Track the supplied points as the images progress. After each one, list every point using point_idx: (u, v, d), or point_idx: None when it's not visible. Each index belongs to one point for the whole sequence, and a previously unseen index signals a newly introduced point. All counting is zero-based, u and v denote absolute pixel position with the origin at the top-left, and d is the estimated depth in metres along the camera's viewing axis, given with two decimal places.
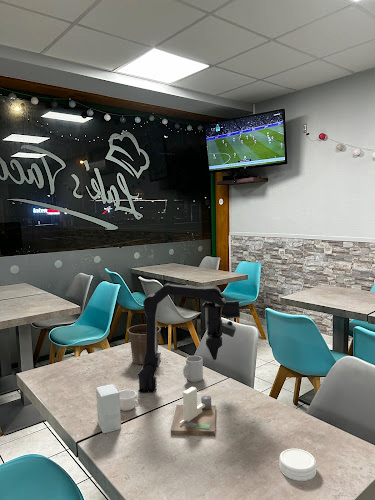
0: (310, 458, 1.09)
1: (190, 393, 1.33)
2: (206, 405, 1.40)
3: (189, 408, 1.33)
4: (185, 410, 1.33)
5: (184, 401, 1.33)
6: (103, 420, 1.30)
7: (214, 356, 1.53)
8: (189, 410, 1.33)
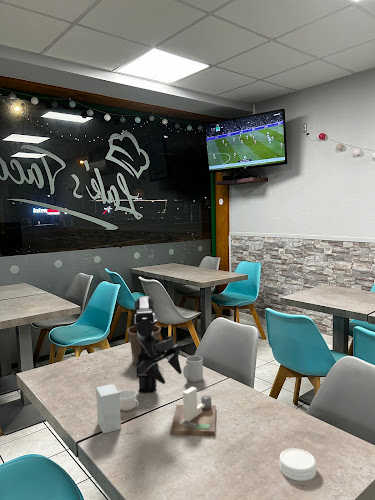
0: (310, 458, 1.09)
1: (190, 393, 1.33)
2: (206, 405, 1.40)
3: (189, 408, 1.33)
4: (185, 410, 1.33)
5: (184, 401, 1.33)
6: (103, 420, 1.30)
7: (161, 380, 1.37)
8: (189, 410, 1.33)
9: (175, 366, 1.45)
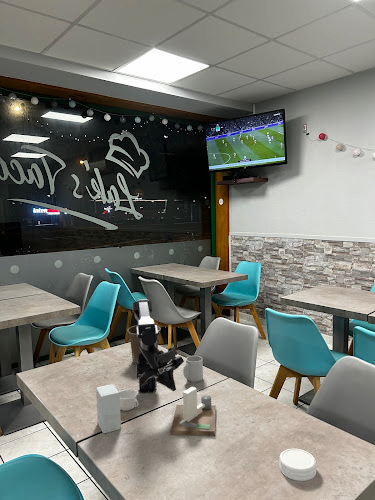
0: (310, 458, 1.09)
1: (190, 393, 1.33)
2: (206, 405, 1.40)
3: (189, 408, 1.33)
4: (185, 410, 1.33)
5: (184, 401, 1.33)
6: (103, 420, 1.30)
7: (171, 387, 1.39)
8: (189, 410, 1.33)
9: None
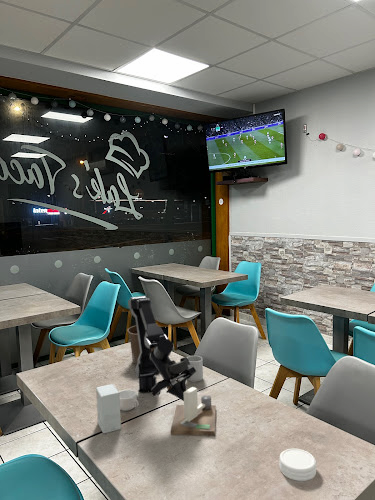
0: (310, 458, 1.09)
1: (191, 393, 1.33)
2: (206, 405, 1.40)
3: (190, 408, 1.33)
4: (186, 410, 1.33)
5: (185, 401, 1.33)
6: (103, 420, 1.30)
7: None
8: (190, 410, 1.33)
9: None
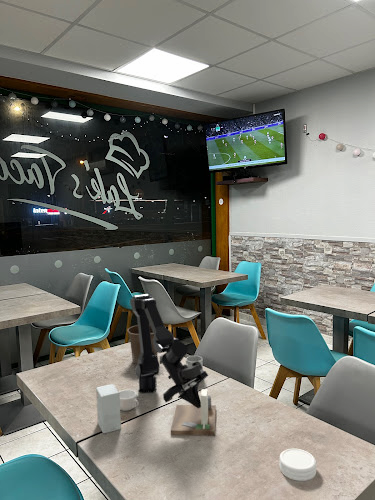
0: (310, 458, 1.09)
1: (206, 395, 1.31)
2: (209, 405, 1.40)
3: (207, 410, 1.31)
4: (203, 414, 1.30)
5: (202, 405, 1.30)
6: (103, 420, 1.30)
7: (196, 404, 1.32)
8: (207, 412, 1.31)
9: None
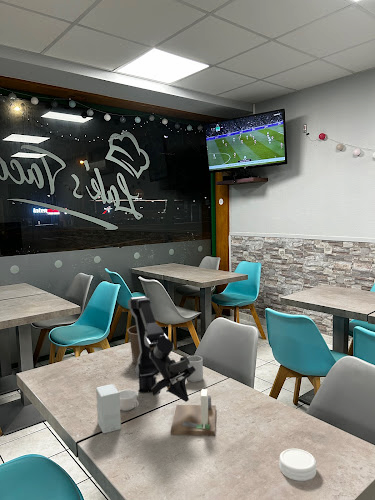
0: (310, 458, 1.09)
1: (206, 395, 1.31)
2: (209, 405, 1.40)
3: (207, 410, 1.31)
4: (203, 414, 1.30)
5: (202, 405, 1.30)
6: (103, 420, 1.30)
7: (183, 397, 1.36)
8: (207, 412, 1.31)
9: None
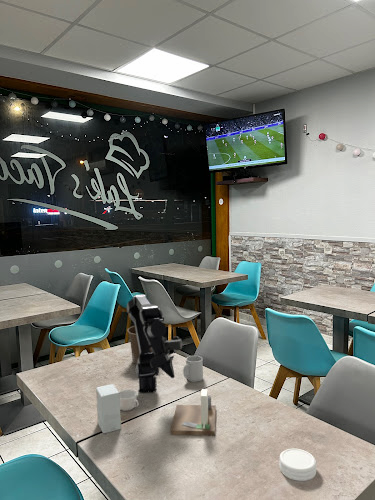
0: (310, 458, 1.09)
1: (206, 395, 1.31)
2: (209, 405, 1.40)
3: (207, 410, 1.31)
4: (203, 414, 1.30)
5: (202, 405, 1.30)
6: (103, 420, 1.30)
7: (171, 374, 1.44)
8: (207, 412, 1.31)
9: None
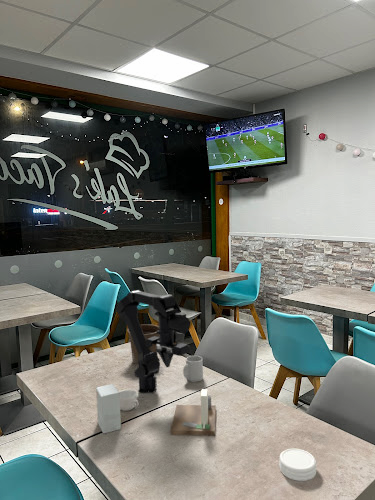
0: (310, 458, 1.09)
1: (206, 395, 1.31)
2: (209, 405, 1.40)
3: (207, 410, 1.31)
4: (203, 414, 1.30)
5: (202, 405, 1.30)
6: (103, 420, 1.30)
7: (168, 363, 1.51)
8: (207, 412, 1.31)
9: None
